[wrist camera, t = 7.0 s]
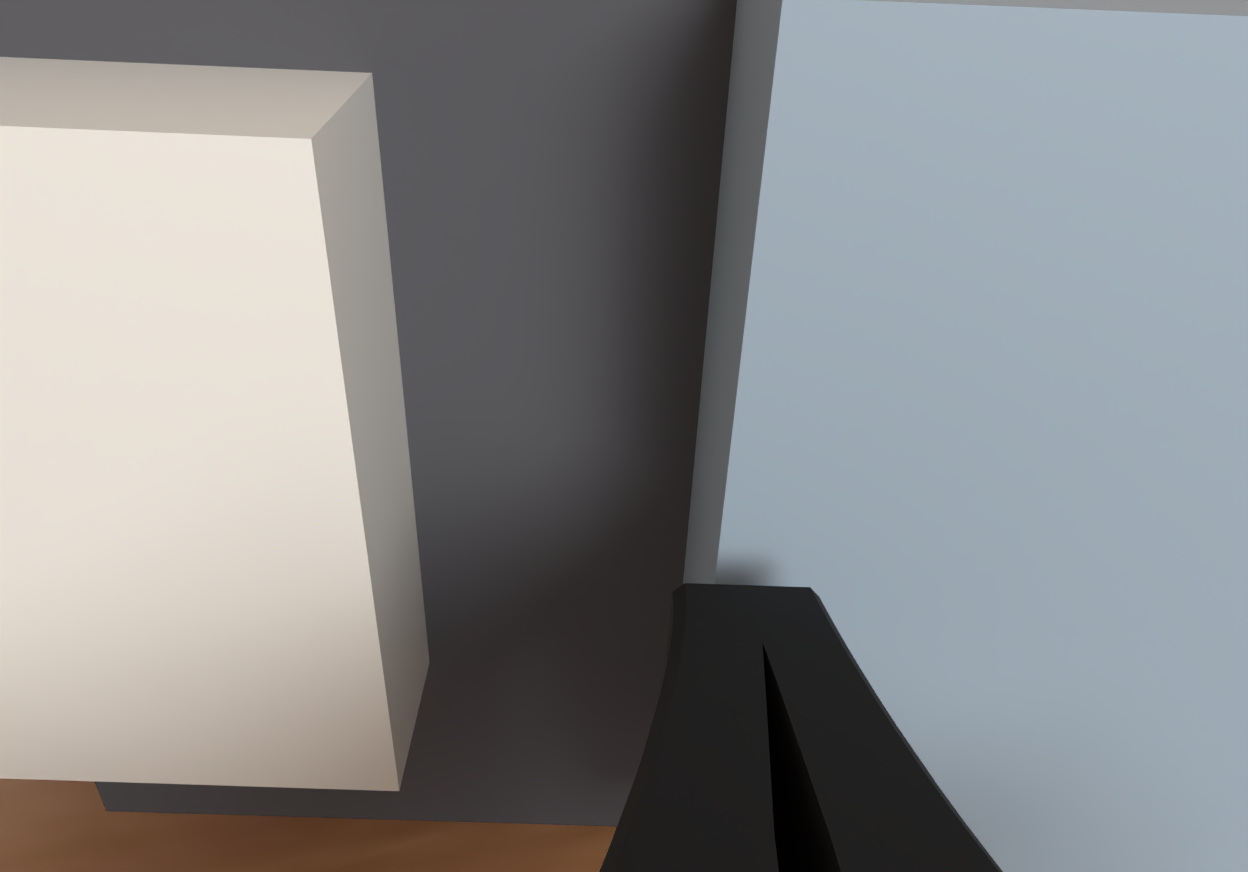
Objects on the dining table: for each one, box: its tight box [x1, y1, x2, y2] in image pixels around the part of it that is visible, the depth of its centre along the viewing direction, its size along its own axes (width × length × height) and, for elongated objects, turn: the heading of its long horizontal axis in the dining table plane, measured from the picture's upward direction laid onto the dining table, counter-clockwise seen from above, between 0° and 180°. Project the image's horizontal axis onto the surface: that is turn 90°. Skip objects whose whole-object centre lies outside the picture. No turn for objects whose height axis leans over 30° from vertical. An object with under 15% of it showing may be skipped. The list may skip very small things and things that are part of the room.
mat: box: [0, 0, 737, 826], centre depth 14 cm, size 15×10×1 cm, turn 178°
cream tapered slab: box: [0, 57, 429, 791], centre depth 12 cm, size 9×6×2 cm, turn 178°
